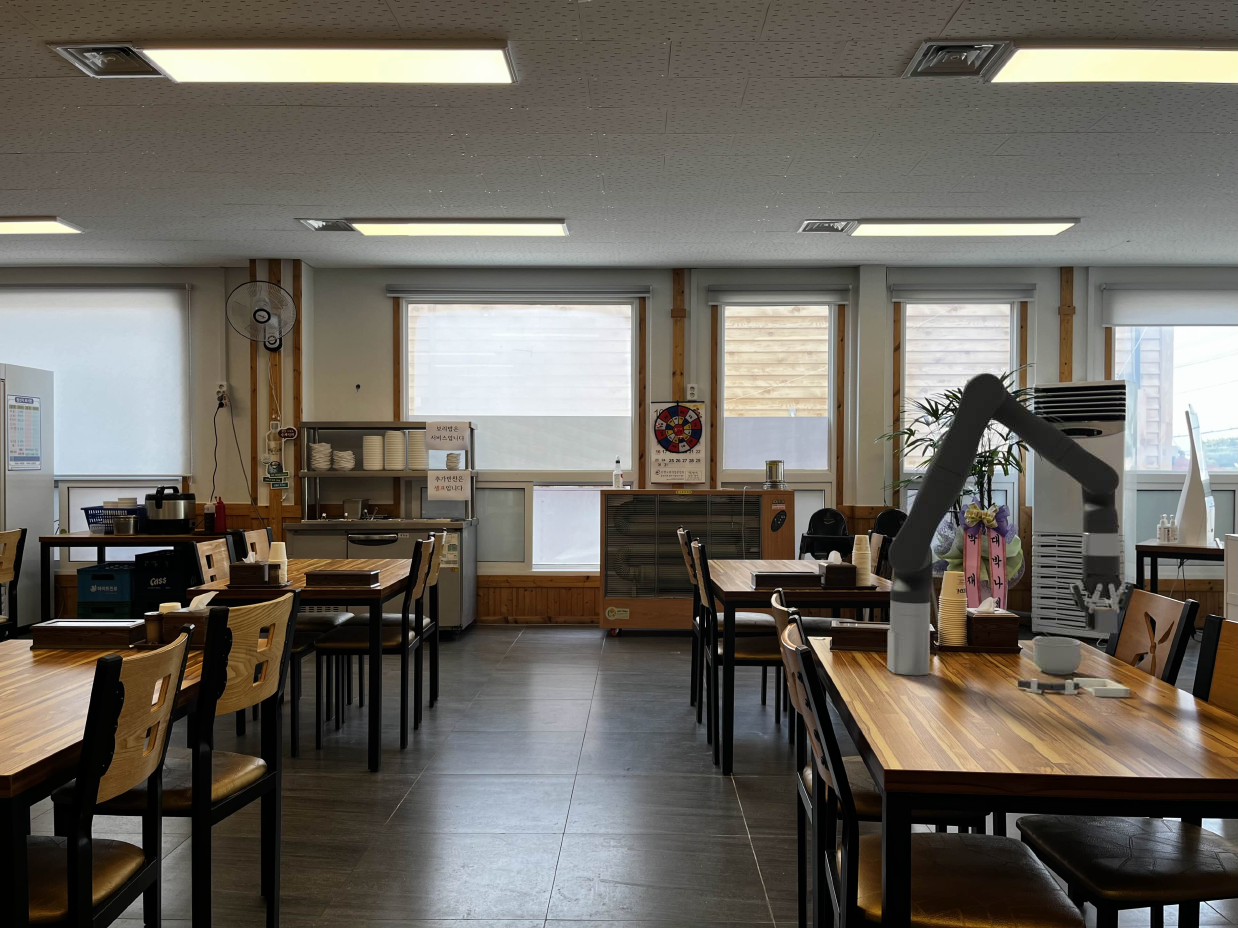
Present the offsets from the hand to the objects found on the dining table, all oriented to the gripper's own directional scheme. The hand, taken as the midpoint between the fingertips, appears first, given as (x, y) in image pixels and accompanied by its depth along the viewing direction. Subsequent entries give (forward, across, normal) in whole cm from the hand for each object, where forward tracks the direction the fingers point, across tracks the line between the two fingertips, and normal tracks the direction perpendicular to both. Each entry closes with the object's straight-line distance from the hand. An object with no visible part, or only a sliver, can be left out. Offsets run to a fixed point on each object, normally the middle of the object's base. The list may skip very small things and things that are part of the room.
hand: (1101, 629), depth 204 cm
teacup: (+14, -1, +22) cm, 26 cm away
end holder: (+14, 0, 0) cm, 14 cm away
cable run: (+14, -12, -1) cm, 18 cm away
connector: (0, 0, 0) cm, 0 cm away
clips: (+14, -12, -1) cm, 18 cm away
